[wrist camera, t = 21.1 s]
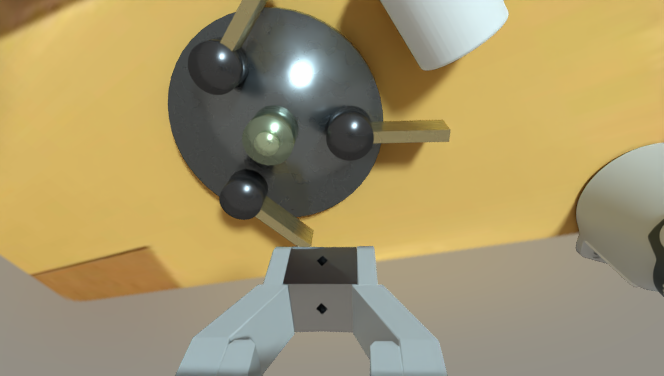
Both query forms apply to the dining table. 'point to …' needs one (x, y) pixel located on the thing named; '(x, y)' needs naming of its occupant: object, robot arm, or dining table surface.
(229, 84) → the knob
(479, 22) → the mug
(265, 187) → the knob
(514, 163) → the dining table surface
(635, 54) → the dining table surface
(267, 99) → the tribrach plate
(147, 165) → the dining table surface
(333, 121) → the knob
